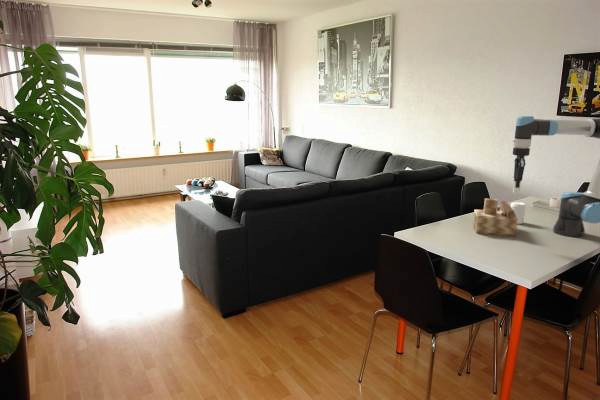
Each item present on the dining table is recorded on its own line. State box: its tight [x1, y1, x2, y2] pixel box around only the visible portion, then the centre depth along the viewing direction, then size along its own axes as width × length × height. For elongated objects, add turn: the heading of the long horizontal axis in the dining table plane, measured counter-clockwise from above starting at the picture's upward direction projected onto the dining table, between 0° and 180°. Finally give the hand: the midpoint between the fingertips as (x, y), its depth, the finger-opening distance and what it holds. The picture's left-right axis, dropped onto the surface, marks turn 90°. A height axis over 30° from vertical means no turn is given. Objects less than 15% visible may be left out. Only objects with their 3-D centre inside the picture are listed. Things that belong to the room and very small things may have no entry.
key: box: [499, 200, 514, 219], centre depth 246 cm, size 3×24×4 cm, turn 165°
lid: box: [473, 197, 518, 220], centre depth 245 cm, size 21×14×9 cm
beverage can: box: [510, 201, 526, 225], centre depth 264 cm, size 8×8×12 cm
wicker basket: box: [472, 205, 518, 237], centre depth 250 cm, size 20×20×12 cm
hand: (515, 193), depth 226 cm, fingers closed
